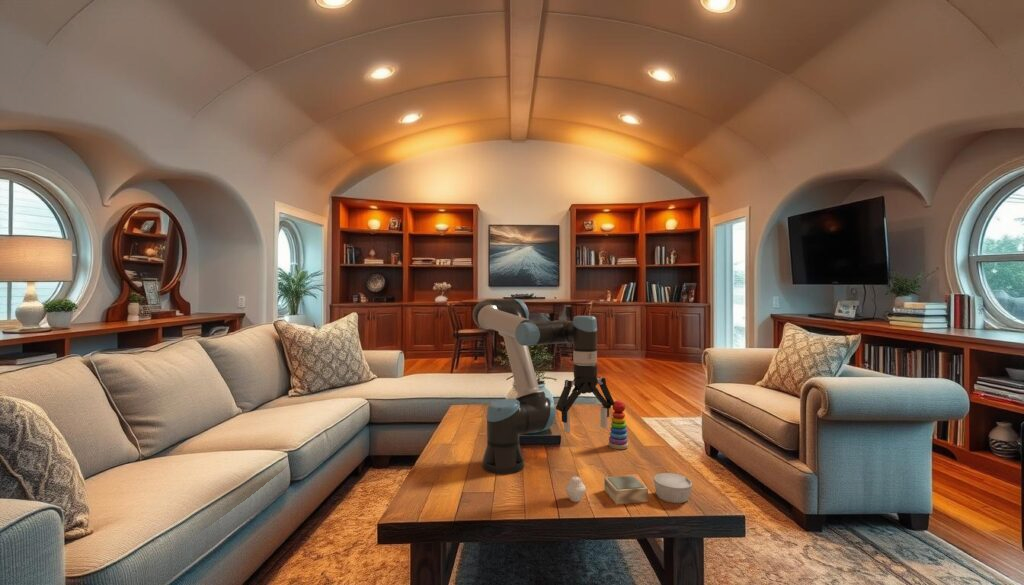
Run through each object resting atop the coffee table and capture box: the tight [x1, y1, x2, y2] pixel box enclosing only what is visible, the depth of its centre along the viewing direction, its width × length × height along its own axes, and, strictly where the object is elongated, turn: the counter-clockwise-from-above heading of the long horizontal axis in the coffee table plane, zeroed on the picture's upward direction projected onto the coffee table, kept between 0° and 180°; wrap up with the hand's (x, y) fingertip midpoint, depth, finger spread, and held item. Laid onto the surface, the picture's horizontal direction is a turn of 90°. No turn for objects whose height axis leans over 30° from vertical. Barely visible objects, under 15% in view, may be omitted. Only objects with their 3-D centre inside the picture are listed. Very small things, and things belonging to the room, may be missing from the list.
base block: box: [603, 474, 649, 505], centre depth 143 cm, size 10×10×4 cm
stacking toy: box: [608, 399, 629, 450], centre depth 188 cm, size 8×8×19 cm
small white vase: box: [565, 476, 587, 503], centre depth 141 cm, size 6×6×7 cm
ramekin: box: [653, 472, 693, 504], centre depth 143 cm, size 11×11×5 cm
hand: (585, 430), depth 149 cm, fingers open, 13 cm apart
